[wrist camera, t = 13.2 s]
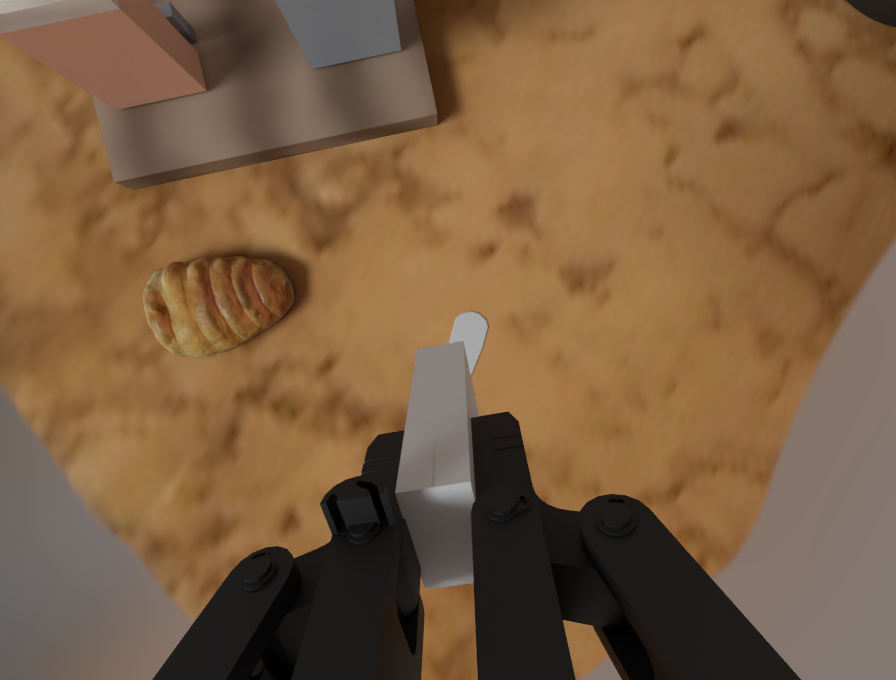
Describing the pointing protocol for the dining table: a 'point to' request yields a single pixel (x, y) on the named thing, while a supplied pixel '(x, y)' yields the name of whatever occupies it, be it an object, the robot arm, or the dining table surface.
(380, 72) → the taupe stand
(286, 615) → the robot arm
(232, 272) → the pastry
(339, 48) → the grey rectangular block
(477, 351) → the butter knife
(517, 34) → the dining table surface
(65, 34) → the pink upright block
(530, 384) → the dining table surface
